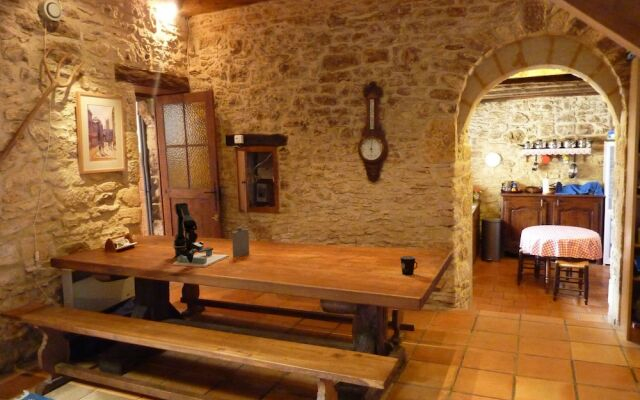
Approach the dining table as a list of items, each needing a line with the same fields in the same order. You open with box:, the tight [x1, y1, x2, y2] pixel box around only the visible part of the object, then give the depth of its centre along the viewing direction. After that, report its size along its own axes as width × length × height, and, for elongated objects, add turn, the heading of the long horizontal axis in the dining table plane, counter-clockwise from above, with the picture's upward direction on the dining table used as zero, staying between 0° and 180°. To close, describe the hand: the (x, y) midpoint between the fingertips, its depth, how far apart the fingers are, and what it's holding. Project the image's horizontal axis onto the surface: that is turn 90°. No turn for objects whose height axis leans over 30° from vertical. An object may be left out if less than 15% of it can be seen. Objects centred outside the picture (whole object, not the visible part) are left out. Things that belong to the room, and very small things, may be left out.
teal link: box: [177, 255, 207, 263], centre depth 319 cm, size 20×4×4 cm, turn 72°
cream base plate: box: [172, 252, 229, 268], centre depth 329 cm, size 24×31×1 cm
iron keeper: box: [194, 246, 214, 256], centre depth 337 cm, size 12×6×5 cm, turn 144°
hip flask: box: [231, 226, 250, 258], centre depth 343 cm, size 16×4×20 cm, turn 150°
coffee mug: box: [400, 255, 418, 276], centre depth 283 cm, size 12×9×10 cm
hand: (190, 262), depth 314 cm, fingers closed
